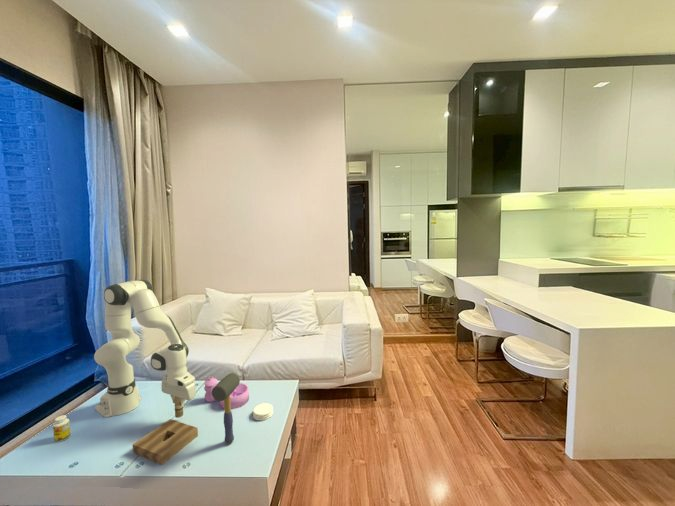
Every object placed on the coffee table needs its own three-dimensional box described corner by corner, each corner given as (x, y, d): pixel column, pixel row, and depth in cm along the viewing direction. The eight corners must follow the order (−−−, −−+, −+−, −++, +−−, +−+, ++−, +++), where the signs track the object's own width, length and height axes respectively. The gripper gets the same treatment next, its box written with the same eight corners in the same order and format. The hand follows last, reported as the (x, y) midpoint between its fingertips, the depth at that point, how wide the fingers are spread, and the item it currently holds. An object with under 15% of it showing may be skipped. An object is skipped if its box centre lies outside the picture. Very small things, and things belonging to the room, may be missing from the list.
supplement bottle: (51, 441, 135) (49, 420, 135) (65, 433, 141) (63, 413, 140) (59, 443, 134) (57, 422, 133) (73, 435, 139) (71, 415, 138)
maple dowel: (173, 416, 146) (172, 393, 145) (179, 412, 150) (178, 390, 149) (178, 418, 145) (177, 395, 144) (185, 414, 148) (184, 391, 147)
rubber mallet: (229, 453, 125) (225, 386, 123) (213, 451, 127) (209, 385, 124) (244, 433, 137) (240, 372, 135) (229, 432, 139) (225, 371, 136)
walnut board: (133, 452, 127) (132, 444, 127) (170, 426, 144) (170, 419, 143) (161, 464, 120) (161, 455, 120) (197, 435, 137) (197, 427, 136)
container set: (253, 394, 171) (252, 372, 169) (241, 410, 156) (239, 386, 154) (213, 391, 174) (212, 370, 173) (197, 407, 159) (196, 384, 158)
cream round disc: (249, 418, 149) (248, 412, 148) (260, 407, 158) (260, 401, 158) (266, 422, 145) (265, 416, 145) (276, 411, 154) (276, 404, 154)
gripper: (157, 376, 147) (158, 402, 148) (186, 384, 139) (187, 412, 140) (168, 370, 153) (170, 395, 154) (197, 378, 145) (198, 404, 146)
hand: (178, 403), depth 147 cm, fingers closed on maple dowel, 4 cm apart
